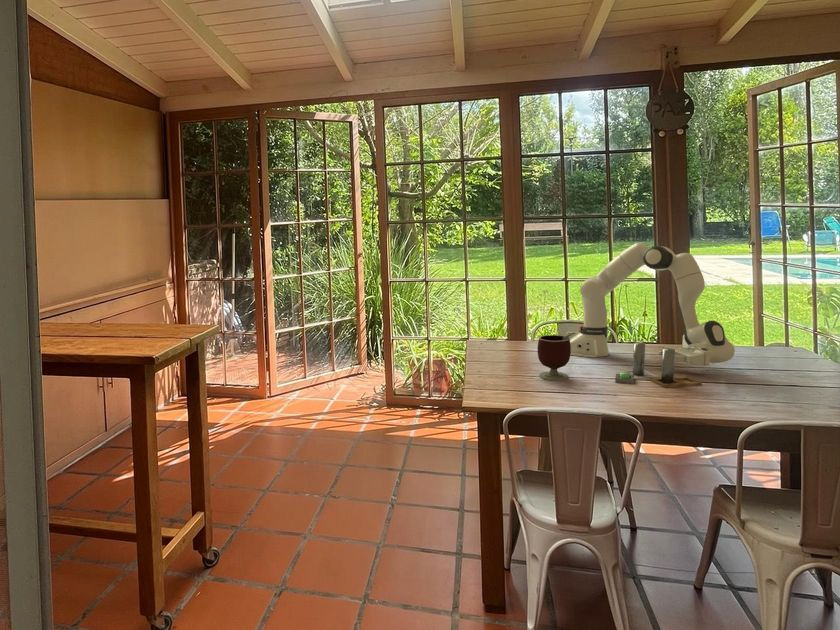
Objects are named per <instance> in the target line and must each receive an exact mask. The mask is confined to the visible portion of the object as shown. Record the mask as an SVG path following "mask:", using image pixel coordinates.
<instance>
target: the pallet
mask: <svg viewBox="0 0 840 630" xmlns="http://www.w3.org/2000/svg"><path fill="white" fill-rule="evenodd" d="M650 382H651V383H653V384H656V385H657V386H660V387H661V388H665V389H666V388H681V387H692V386H693V387H695V386H697V387H698V386H703V382H702V381H699V380H697V379H694V378H692V377H690V376H688V375H687V376H678V377H677V376H676V377H675V376H674V379H673V383H670V384H664V383H662V382H661V377H660V378H659V377H655V378H650Z"/></svg>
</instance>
